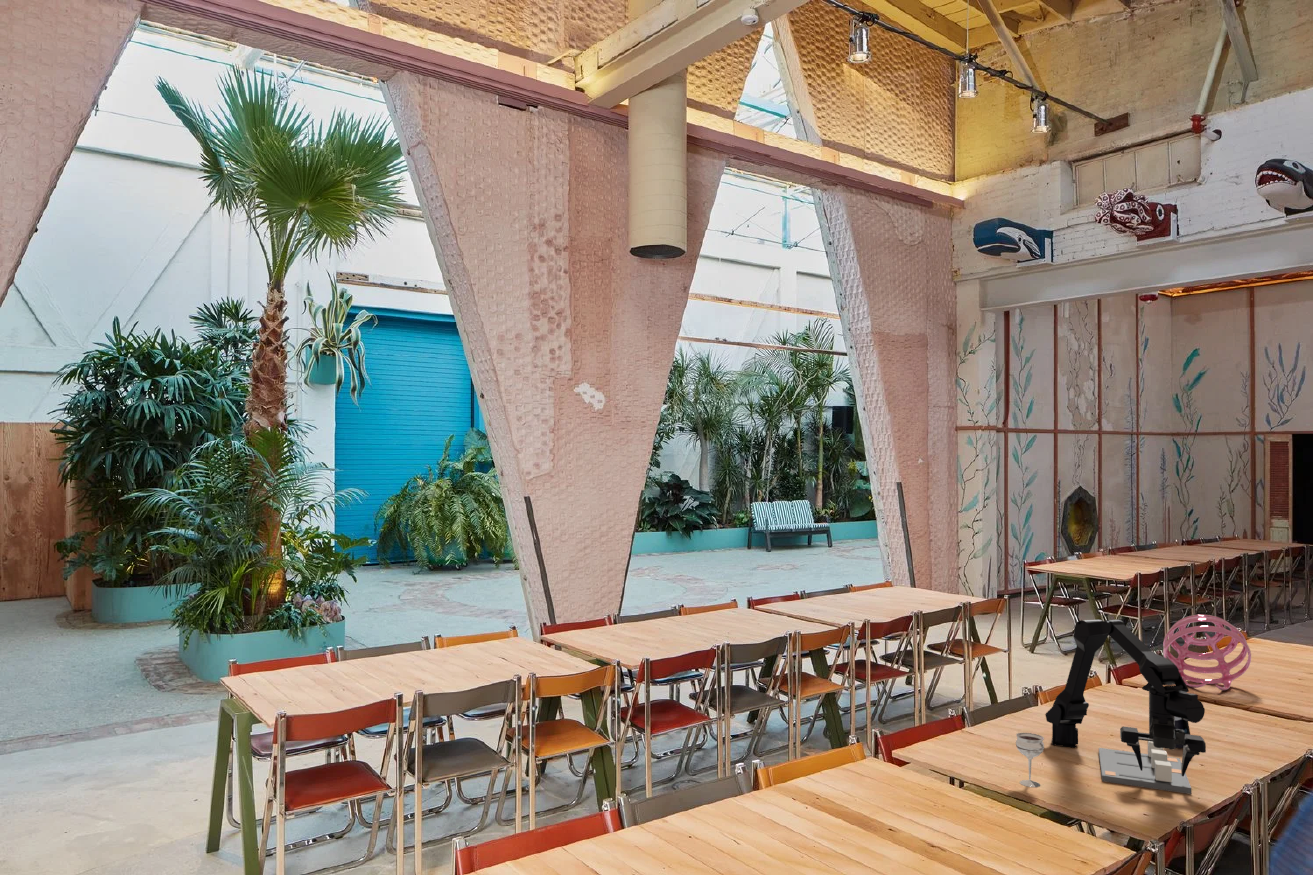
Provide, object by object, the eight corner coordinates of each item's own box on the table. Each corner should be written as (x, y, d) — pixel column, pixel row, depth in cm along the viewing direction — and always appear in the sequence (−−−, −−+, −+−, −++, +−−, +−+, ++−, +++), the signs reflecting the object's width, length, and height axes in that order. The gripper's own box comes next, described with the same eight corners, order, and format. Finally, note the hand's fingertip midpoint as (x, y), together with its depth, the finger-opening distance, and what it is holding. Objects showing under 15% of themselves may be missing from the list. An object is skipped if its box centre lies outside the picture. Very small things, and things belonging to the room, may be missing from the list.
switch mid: (1152, 767, 235) (1152, 752, 235) (1151, 763, 238) (1151, 748, 238) (1167, 769, 233) (1167, 754, 233) (1166, 765, 236) (1165, 750, 237)
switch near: (1155, 779, 226) (1155, 764, 226) (1154, 775, 229) (1154, 759, 229) (1171, 782, 224) (1171, 766, 224) (1170, 777, 227) (1170, 762, 228)
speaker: (1196, 746, 259) (1191, 710, 260) (1193, 752, 255) (1188, 715, 255) (1167, 743, 264) (1162, 708, 264) (1163, 749, 259) (1159, 713, 260)
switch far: (1148, 756, 244) (1148, 741, 244) (1147, 752, 247) (1147, 738, 247) (1163, 758, 242) (1163, 743, 243) (1162, 754, 246) (1162, 740, 246)
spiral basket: (1247, 647, 308) (1234, 594, 329) (1158, 656, 323) (1150, 605, 344) (1265, 703, 318) (1251, 649, 339) (1178, 710, 333) (1169, 657, 354)
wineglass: (1031, 789, 223) (1031, 741, 223) (1009, 781, 229) (1009, 734, 229) (1050, 785, 226) (1050, 738, 227) (1028, 777, 232) (1028, 731, 233)
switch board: (1102, 781, 230) (1102, 774, 230) (1098, 752, 253) (1098, 747, 253) (1191, 793, 222) (1191, 787, 222) (1179, 763, 244) (1179, 757, 244)
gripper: (1122, 714, 224) (1122, 777, 223) (1208, 724, 216) (1209, 789, 216) (1120, 703, 234) (1120, 763, 233) (1202, 713, 226) (1202, 774, 226)
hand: (1161, 772), depth 227 cm, fingers open, 9 cm apart
